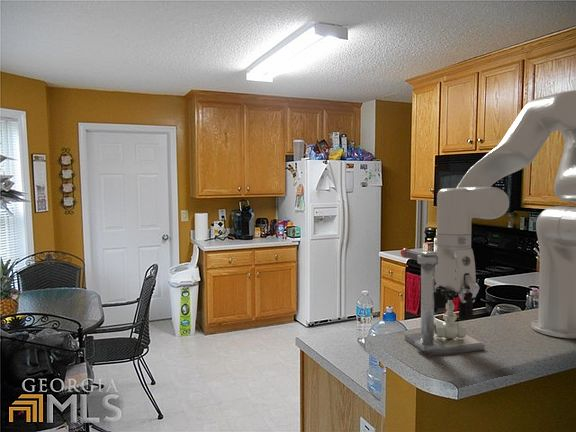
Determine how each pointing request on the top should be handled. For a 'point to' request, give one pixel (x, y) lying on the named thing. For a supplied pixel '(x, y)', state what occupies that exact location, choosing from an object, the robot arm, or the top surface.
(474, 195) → the robot arm
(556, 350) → the top surface
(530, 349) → the top surface
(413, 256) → the lever
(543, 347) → the top surface
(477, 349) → the press
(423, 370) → the top surface
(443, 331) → the valve
